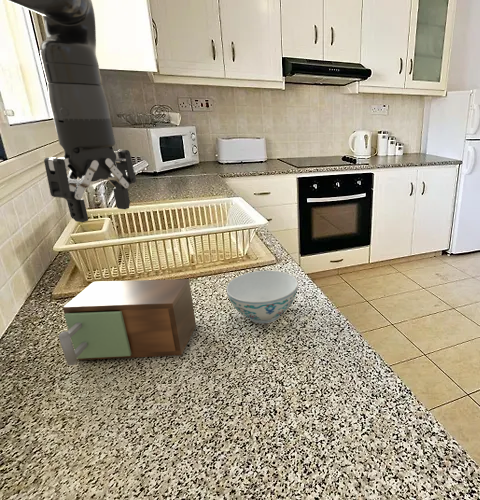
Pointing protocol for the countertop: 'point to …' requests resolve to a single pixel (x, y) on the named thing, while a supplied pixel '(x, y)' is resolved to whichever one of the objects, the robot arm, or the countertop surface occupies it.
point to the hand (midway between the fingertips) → (103, 214)
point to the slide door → (94, 336)
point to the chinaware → (262, 294)
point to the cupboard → (144, 313)
